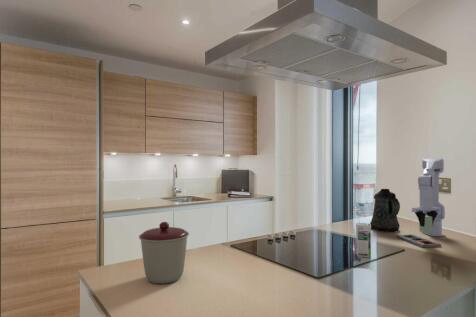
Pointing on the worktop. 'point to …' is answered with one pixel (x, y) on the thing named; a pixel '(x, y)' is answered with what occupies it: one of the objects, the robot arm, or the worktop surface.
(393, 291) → the worktop surface
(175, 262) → the canister
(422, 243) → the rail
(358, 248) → the syrup box
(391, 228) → the beer stein
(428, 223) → the peg
